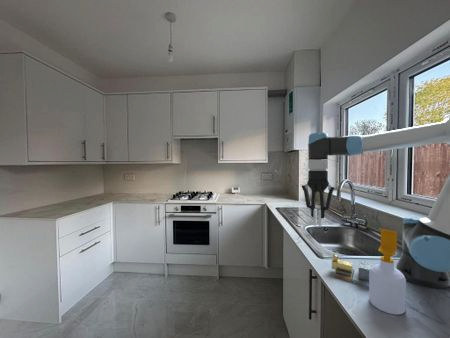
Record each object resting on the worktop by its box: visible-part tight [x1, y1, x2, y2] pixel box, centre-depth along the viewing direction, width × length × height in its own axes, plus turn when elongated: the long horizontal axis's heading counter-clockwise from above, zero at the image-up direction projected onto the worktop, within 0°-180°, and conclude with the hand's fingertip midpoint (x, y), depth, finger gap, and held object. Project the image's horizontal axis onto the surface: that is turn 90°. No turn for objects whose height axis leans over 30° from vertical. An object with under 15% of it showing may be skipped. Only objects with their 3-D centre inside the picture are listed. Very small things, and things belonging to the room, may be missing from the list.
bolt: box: [331, 253, 353, 274], centre depth 85 cm, size 7×3×5 cm, turn 54°
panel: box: [334, 268, 369, 288], centre depth 82 cm, size 13×9×1 cm
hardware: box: [334, 260, 377, 282], centre depth 82 cm, size 13×7×5 cm, turn 54°
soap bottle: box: [368, 227, 407, 316], centre depth 66 cm, size 9×9×25 cm
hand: (317, 224), depth 89 cm, fingers closed
